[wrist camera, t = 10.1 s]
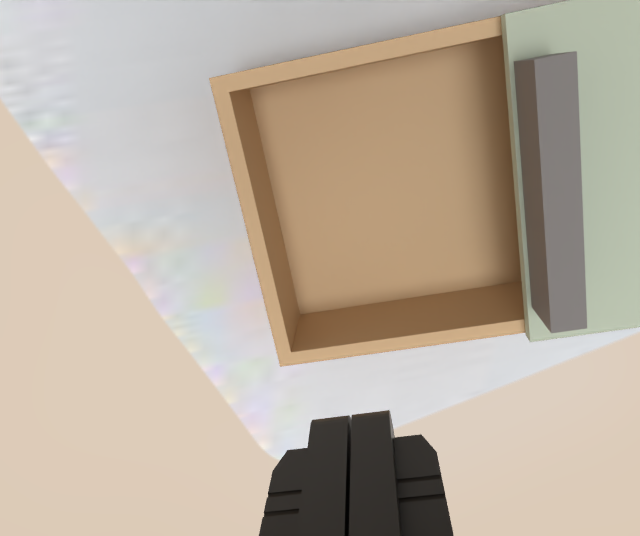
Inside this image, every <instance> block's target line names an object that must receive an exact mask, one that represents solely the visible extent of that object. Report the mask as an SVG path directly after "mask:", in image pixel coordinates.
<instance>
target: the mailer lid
mask: <svg viewBox="0 0 640 536" xmlns="http://www.w3.org/2000/svg"><path fill="white" fill-rule="evenodd" d="M501 26H502V38H503V51H504V64H505V77H506V89H507V102H508V115H509V127H510V140H511V153H512V166H513V178H514V191H515V204H516V217H517V229H518V242H519V255H520V267H521V280H522V293H523V306H524V318H525V331H526V336H527V338H528V339H529V341H530V342H535V341H542V340H549V339H557V338H564V337H571V336H579V335H586V334H593V333H600V332H608V331H615V330H622V329H630V328H637V327H640V0H568V1H563V2H558V3H553V4H549V5H544V6H539V7H535V8H530V9H525V10H521V11H516V12H511V13H507V14H504V15H501Z"/></svg>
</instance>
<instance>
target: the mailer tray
mask: <svg viewBox="0 0 640 536" xmlns="http://www.w3.org/2000/svg"><path fill="white" fill-rule="evenodd" d="M209 80H210V84H211V88H212V92H213V96H214V100H215V104H216V108H217V112H218V116H219V120H220V124H221V129H222V133H223V137H224V141H225V145H226V149H227V153H228V157H229V161H230V165H231V169H232V173H233V177H234V181H235V185H236V189H237V193H238V197H239V201H240V205H241V209H242V213H243V218H244V222H245V226H246V230H247V234H248V238H249V242H250V246H251V250H252V254H253V258H254V262H255V266H256V270H257V274H258V278H259V282H260V286H261V290H262V294H263V298H264V303H265V307H266V311H267V315H268V319H269V323H270V327H271V331H272V335H273V339H274V343H275V347H276V351H277V355H278V359H279V363H280V367H281V366H288V365H295V364H302V363H310V362H317V361H324V360H331V359H338V358H346V357H353V356H360V355H367V354H374V353H382V352H389V351H396V350H403V349H410V348H418V347H425V346H432V345H439V344H446V343H454V342H461V341H468V340H475V339H482V338H490V337H497V336H504V335H511V334H518V333H526V331H525V318H524V306H523V293H522V280H521V267H520V255H519V242H518V229H517V217H516V204H515V191H514V178H513V166H512V153H511V140H510V127H509V115H508V102H507V89H506V77H505V64H504V51H503V38H502V26H501V16H498V17H494V18H489V19H484V20H480V21H475V22H470V23H466V24H461V25H456V26H452V27H447V28H442V29H438V30H433V31H428V32H423V33H419V34H414V35H409V36H405V37H400V38H395V39H391V40H386V41H381V42H377V43H372V44H367V45H362V46H358V47H353V48H348V49H344V50H339V51H334V52H330V53H325V54H320V55H316V56H311V57H306V58H301V59H297V60H292V61H287V62H283V63H278V64H273V65H269V66H264V67H259V68H255V69H250V70H245V71H240V72H236V73H231V74H226V75H222V76H217V77H212V78H209Z"/></svg>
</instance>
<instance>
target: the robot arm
mask: <svg viewBox="0 0 640 536" xmlns="http://www.w3.org/2000/svg"><path fill="white" fill-rule="evenodd" d="M259 536H453V531H452V526H451V521H450V516H449V511H448V506H447V501H446V497H445V491H444V486H443V482H442V477H441V472H440V467H439V462H438V457H437V452H436V451H435V450H434V449H433V447H432V446H431V445H430V444H429V443H428V442H427V441H426V440H425V438H424V437H423V436H422V435H413V436H404V437H397V438H395V437H394V431H393V425H392V420H391V415H390V411H389V410H388V411H380V412H372V413H364V414H356V415H352V418H350V416H341V417H333V418H325V419H317V420H312V422H311V426H310V434H309V441H308V448H303V449H294V450H287V452H286V453H285V455H284V456H283V457H282V459H281V460H280V461H279V463H278V464H277V466H276V467H275V469H274V470H273V472H272V478H271V482H270V486H269V491H268V498H267V501H266V505H265V510H264V517H263V519H262V524H261V529H260V534H259Z"/></svg>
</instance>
